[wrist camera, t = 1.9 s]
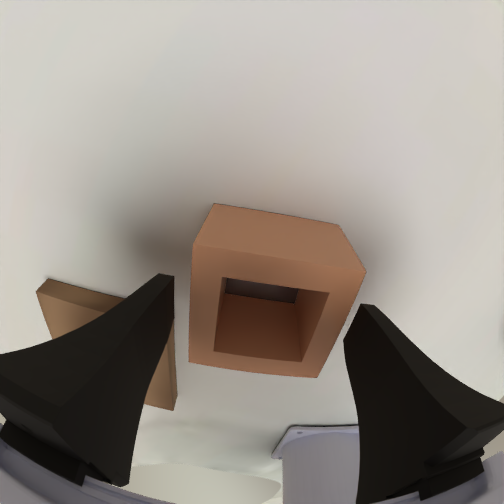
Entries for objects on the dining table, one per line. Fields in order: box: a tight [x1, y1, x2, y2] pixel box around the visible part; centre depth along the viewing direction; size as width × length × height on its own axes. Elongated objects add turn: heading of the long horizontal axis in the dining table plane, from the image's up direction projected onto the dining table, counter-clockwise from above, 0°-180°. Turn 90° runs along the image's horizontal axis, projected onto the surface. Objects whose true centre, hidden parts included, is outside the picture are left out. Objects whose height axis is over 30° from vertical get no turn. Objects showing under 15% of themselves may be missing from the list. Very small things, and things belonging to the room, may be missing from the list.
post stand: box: [36, 279, 177, 411], centre depth 14 cm, size 9×9×6 cm
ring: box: [189, 204, 366, 378], centre depth 12 cm, size 6×6×4 cm
